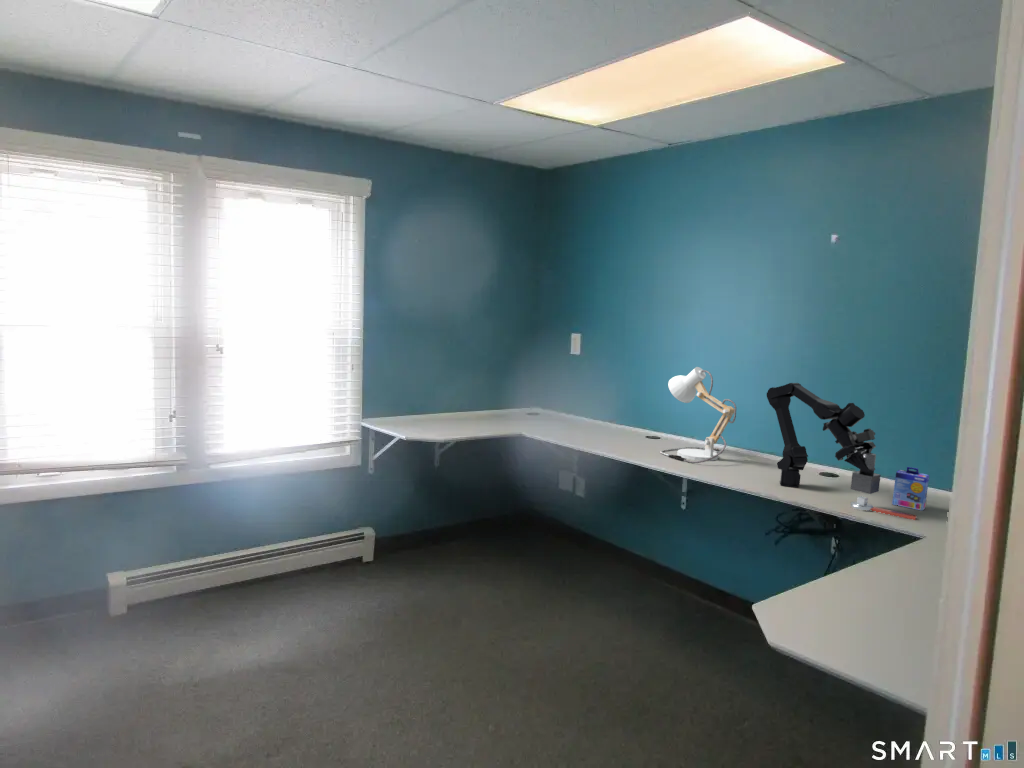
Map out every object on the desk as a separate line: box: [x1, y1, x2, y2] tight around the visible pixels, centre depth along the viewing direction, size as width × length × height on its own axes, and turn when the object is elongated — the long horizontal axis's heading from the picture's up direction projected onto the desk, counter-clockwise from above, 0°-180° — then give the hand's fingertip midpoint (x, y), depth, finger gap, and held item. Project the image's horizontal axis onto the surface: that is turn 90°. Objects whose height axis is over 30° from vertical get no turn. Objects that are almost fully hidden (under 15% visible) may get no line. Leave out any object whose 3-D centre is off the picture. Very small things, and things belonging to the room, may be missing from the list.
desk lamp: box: [659, 366, 737, 464], centre depth 309 cm, size 31×38×40 cm
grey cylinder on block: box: [850, 452, 882, 495], centre depth 238 cm, size 7×7×13 cm
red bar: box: [850, 495, 918, 521], centre depth 235 cm, size 20×9×4 cm, turn 38°
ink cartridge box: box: [891, 466, 930, 511], centre depth 244 cm, size 10×6×14 cm, turn 51°
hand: (870, 471), depth 237 cm, fingers closed on grey cylinder on block, 4 cm apart
